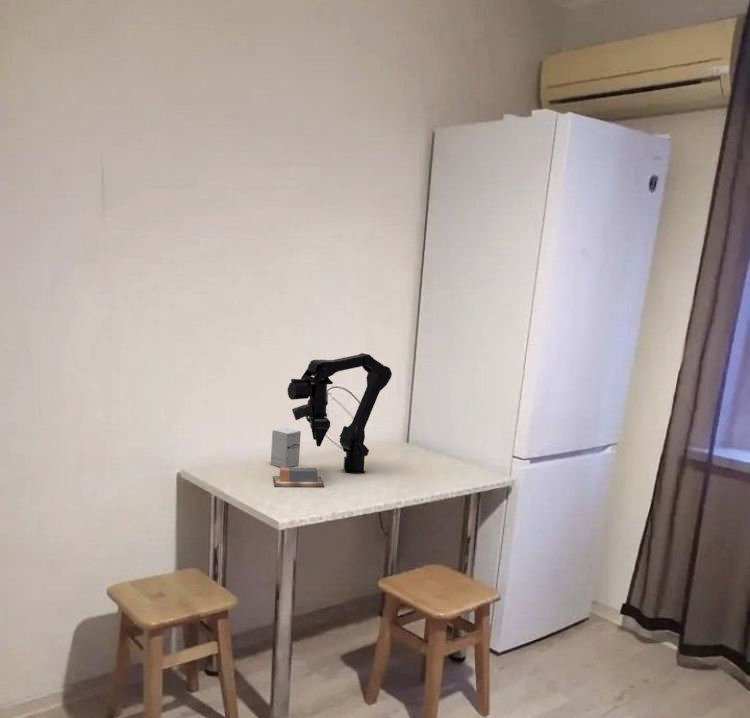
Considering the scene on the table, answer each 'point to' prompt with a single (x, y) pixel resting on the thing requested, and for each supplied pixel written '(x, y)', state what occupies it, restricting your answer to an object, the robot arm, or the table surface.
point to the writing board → (297, 483)
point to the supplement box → (285, 447)
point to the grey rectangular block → (298, 474)
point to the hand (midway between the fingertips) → (316, 442)
